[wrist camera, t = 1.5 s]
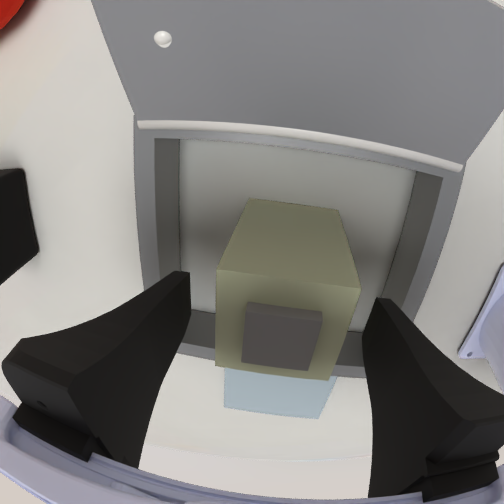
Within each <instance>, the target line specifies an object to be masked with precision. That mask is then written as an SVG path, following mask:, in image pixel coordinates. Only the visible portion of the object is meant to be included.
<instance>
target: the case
mask: <svg viewBox="0 0 504 504" xmlns="http://www.w3.org/2000/svg"><path fill="white" fill-rule="evenodd" d="M91 2H92V5H93V7H94V10H95V13H96V16H97V19H98V22H99V24H100V27H101V30H102V33H103V35H104V38H105V41H106V43H107V46H108V49H109V51H110V54H111V57H112V59H113V62H114V64H115V67H116V70H117V72H118V75H119V77H120V80H121V82H122V85H123V87H124V90H125V92H126V95H127V97H128V99H129V102H130V104H131V107H132V109H133V112H134V114H135V115H134V180H135V200H136V216H137V229H138V240H139V251H140V260H141V269H142V277H143V285H144V291H145V290H147V289H148V288H150V287H151V286H153V285H154V284H155V283H157V282H158V281H160V280H161V279H163V278H164V277H166V276H167V275H169V274H170V273H172V272H173V271H181V269H180V242H179V139H196V140H214V141H228V142H240V143H251V144H261V145H271V146H280V147H288V148H296V149H303V150H310V151H317V152H323V153H330V154H336V155H342V156H348V157H353V158H359V159H364V160H369V161H374V162H379V163H384V164H389V165H394V166H398V167H403V168H407V169H411V170H415V171H417V173H416V178H415V182H414V187H413V191H412V195H411V199H410V203H409V207H408V211H407V215H406V219H405V223H404V226H403V230H402V234H401V237H400V240H399V244H398V247H397V251H396V254H395V257H394V260H393V263H392V267H391V270H390V273H389V276H388V279H387V282H386V285H385V288H384V290H383V293H382V296H381V298H387V299H391V300H392V301H393V302H394V303H395V304H396V305H397V306H398V307H399V308H400V309H401V310H402V311H403V312H404V313H405V315H406V316H407V317H408V318H409V319H410V320H411V321H412V322H413V321H414V319H415V316H416V314H417V312H418V310H419V307H420V305H421V303H422V300H423V298H424V296H425V293H426V291H427V288H428V286H429V283H430V281H431V278H432V276H433V273H434V270H435V268H436V265H437V262H438V260H439V257H440V254H441V251H442V248H443V245H444V242H445V239H446V236H447V233H448V230H449V227H450V224H451V220H452V217H453V213H454V210H455V206H456V203H457V199H458V195H459V191H460V187H461V183H462V179H463V175H464V171H465V166H466V161H467V160H468V158H469V157H470V156H471V154H472V153H473V152H474V150H475V149H476V148H477V146H478V145H479V144H480V142H481V141H482V139H483V138H484V137H485V135H486V134H487V132H488V131H489V130H490V128H491V127H492V125H493V124H494V122H495V121H496V119H497V118H498V117H499V115H500V114H501V112H502V111H503V109H504V7H503V6H501V5H499V4H497V3H496V2H494V1H492V0H91ZM215 318H216V314H212V313H206V312H201V311H195V310H191V317H190V320H189V323H188V326H187V329H186V332H185V335H184V338H183V340H182V342H181V344H180V346H179V348H178V350H177V352H176V353H179V354H184V355H189V356H194V357H199V358H204V359H209V360H215ZM362 334H363V333H358V332H347V334H346V337H345V339H344V342H343V345H342V348H341V350H340V353H339V356H338V358H337V361H336V363H335V366H334V368H333V371H332V373H331V376H338V377H353V378H366V373H365V368H364V362H363V353H362Z"/></svg>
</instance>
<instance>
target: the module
mask: <svg viewBox="0 0 504 504" xmlns="http://www.w3.org/2000/svg"><path fill="white" fill-rule="evenodd" d="M361 289H362V288H361V284H360V280H359V277H358V273H357V270H356V267H355V263H354V260H353V256H352V253H351V250H350V247H349V243H348V240H347V237H346V234H345V231H344V228H343V225H342V222H341V219H340V216H339V213H338V210H334V209H327V208H320V207H313V206H306V205H299V204H292V203H285V202H277V201H269V200H261V199H253V198H249V200H248V202H247V204H246V206H245V208H244V211H243V213H242V215H241V217H240V219H239V221H238V223H237V225H236V228H235V230H234V232H233V234H232V236H231V238H230V240H229V243H228V245H227V247H226V249H225V251H224V253H223V256H222V258H221V260H220V262H219V264H218V267H217V269H216V318H215V366H219V367H224V368H230V369H236V370H242V371H249V372H255V373H262V374H269V375H277V376H285V377H293V378H302V379H312V380H323V381H329V378H330V376H331V373H332V371H333V368H334V366H335V363H336V361H337V358H338V356H339V353H340V350H341V348H342V345H343V342H344V339H345V337H346V334H347V331H348V328H349V325H350V323H351V320H352V317H353V314H354V311H355V308H356V305H357V302H358V299H359V296H360V292H361Z"/></svg>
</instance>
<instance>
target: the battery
mask: <svg viewBox="0 0 504 504" xmlns="http://www.w3.org/2000/svg"><path fill="white" fill-rule="evenodd" d="M37 253H38V248H37V244H36V239H35V235H34V231H33V226H32V221H31V216H30V211H29V206H28V200H27V194H26V188H25V181H24V175H23V171H22V170H21V169H9V170H0V285H1V284H2V283H3V282H5V281H6V280H7V279H8V278H9V277H10V276H12V275H13V274H14V273H15V272H16V271H17V270H19V269H20V268H21V267H22V266H23V265H25V264H26V263H27V262H28V261H30V260H31V259H32V258H33V257H34V256H36V255H37Z"/></svg>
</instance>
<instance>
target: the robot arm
mask: <svg viewBox="0 0 504 504" xmlns="http://www.w3.org/2000/svg"><path fill="white" fill-rule="evenodd" d="M190 317H191V294H190V273H188V272H182V271H173V272H172V273H170V274H169V275H167V276H166V277H164V278H163V279H161V280H160V281H158V282H157V283H155V284H154V285H153V286H151V287H150V288H148V289H147V290H145V291H144V292H142V293H141V294H139V295H137V296H136V297H134V298H132V299H131V300H129V301H127V302H126V303H124V304H122V305H121V306H119V307H117V308H115V309H113V310H112V311H110V312H108V313H105V314H103V315H101V316H99V317H97V318H95V319H92V320H89V321H87V322H84V323H82V324H79V325H77V326H74V327H71V328H68V329H64V330H61V331H57V332H53V333H49V334H45V335H40V336H34V337H29V338H22V339H21V340H20V341H19V342H18V343H17V344H16V346H15V347H14V348H13V349H12V350H11V352H10V353H9V354H8V355H7V357H6V358H5V359H4V360H3V362H2V370H3V374H4V376H5V377H6V379H7V381H8V382H9V384H10V385H11V387H12V388H13V390H14V391H15V393H16V394H17V396H18V397H19V399H20V400H21V402H22V403H21V404H20V406H19V408H17V407H16V406H15V405H14V404H13V403H12V402H11V401H9V400H7V399H6V398H4V397H3V396H1V395H0V472H1V473H2V474H4V475H5V476H6V477H8V478H9V479H11V480H12V481H13V482H15V483H16V484H18V485H19V486H20V487H22V488H23V489H25V490H26V491H28V492H30V493H31V494H32V495H34V496H36V497H37V498H39V499H40V500H42V501H43V502H45V503H47V504H504V464H502V465H501V466H499V467H496V463H495V461H497V460H498V459H499V453H498V449H499V448H501V447H502V446H503V445H504V266H503V267H502V268H501V270H500V272H499V274H498V277H497V279H496V281H495V283H494V286H493V288H492V290H491V292H490V294H489V296H488V298H487V300H486V302H485V304H484V306H483V308H482V310H481V312H480V314H479V316H478V318H477V320H476V322H475V324H474V326H473V327H472V329H471V331H470V333H469V334H468V336H467V338H466V340H465V341H464V343H463V345H462V347H461V348H460V350H459V352H458V355H459V357H460V358H462V359H465V358H487V360H488V363H489V365H490V367H491V369H492V371H493V373H494V375H495V377H496V379H497V382H498V384H499V386H500V388H501V391H502V393H503V394H501V393H499V392H497V391H495V390H493V389H491V388H490V387H488V386H486V385H484V384H483V383H481V382H480V381H478V380H477V379H475V378H473V377H472V376H471V375H469V374H468V373H466V372H465V371H464V370H462V369H461V368H460V367H458V366H457V365H456V364H455V363H453V362H452V361H451V360H450V359H449V358H448V357H446V356H445V355H444V354H443V353H442V352H441V351H440V350H439V349H438V348H437V347H436V346H435V345H434V344H433V343H432V342H431V341H430V340H429V339H428V338H427V337H426V336H425V335H424V334H423V333H422V332H421V331H420V330H419V329H418V328H417V327H416V326H415V325H414V323H413V322H412V321H411V320H410V319H409V318H408V317H407V316H406V315H405V313H404V312H403V311H402V310H401V309H400V308H399V307H398V306H397V305H396V304H395V303H394V302H393V301H392V300H391V299H387V298H378V297H376V299H375V302H374V305H373V308H372V311H371V313H370V316H369V319H368V321H367V324H366V327H365V329H364V332H363V334H362V353H363V362H364V368H365V373H366V379H367V384H368V389H369V395H370V401H371V408H372V425H373V445H372V465H371V477H370V485H369V492H368V498H363V499H343V500H341V499H340V500H313V499H290V498H276V497H265V496H257V495H248V494H241V493H235V492H228V491H223V490H216V489H212V488H207V487H202V486H198V485H193V484H189V483H184V482H181V481H177V480H172V479H169V478H165V477H162V476H158V475H155V474H152V473H148V472H145V471H142V470H139V469H138V467H139V461H140V457H141V453H142V448H143V444H144V440H145V436H146V432H147V429H148V425H149V421H150V418H151V415H152V411H153V408H154V405H155V402H156V399H157V396H158V393H159V390H160V387H161V384H162V382H163V379H164V377H165V375H166V373H167V371H168V369H169V367H170V365H171V363H172V361H173V358H174V356H175V354H176V352H177V350H178V348H179V346H180V344H181V342H182V340H183V338H184V335H185V332H186V329H187V326H188V323H189V320H190Z"/></svg>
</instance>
